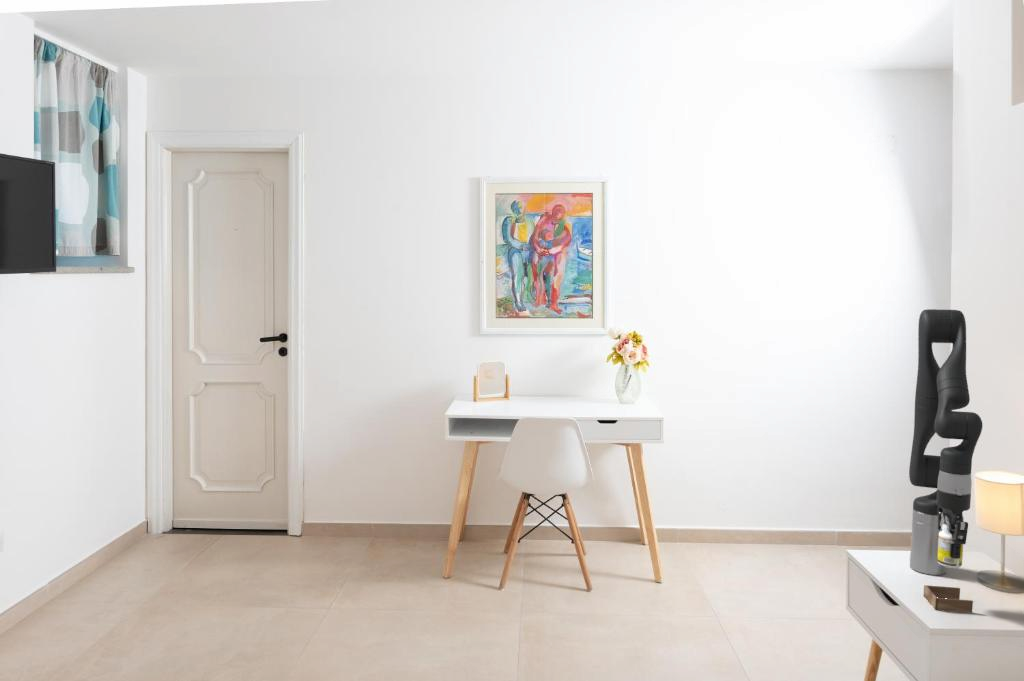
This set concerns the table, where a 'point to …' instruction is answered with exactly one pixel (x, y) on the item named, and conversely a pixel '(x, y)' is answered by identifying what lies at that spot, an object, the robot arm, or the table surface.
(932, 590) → the walnut u rest
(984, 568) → the table surface
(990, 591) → the table surface
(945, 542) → the supplement bottle
